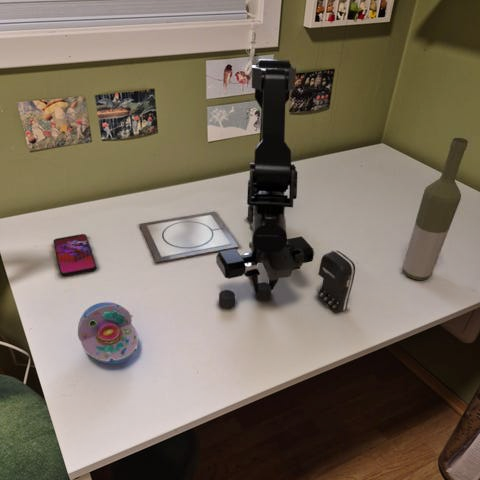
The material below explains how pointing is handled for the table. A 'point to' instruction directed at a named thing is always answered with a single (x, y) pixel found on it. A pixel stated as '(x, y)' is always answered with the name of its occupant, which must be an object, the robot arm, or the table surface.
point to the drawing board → (187, 237)
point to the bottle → (435, 217)
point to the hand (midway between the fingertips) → (263, 290)
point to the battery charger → (336, 280)
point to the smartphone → (74, 254)
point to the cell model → (107, 332)
